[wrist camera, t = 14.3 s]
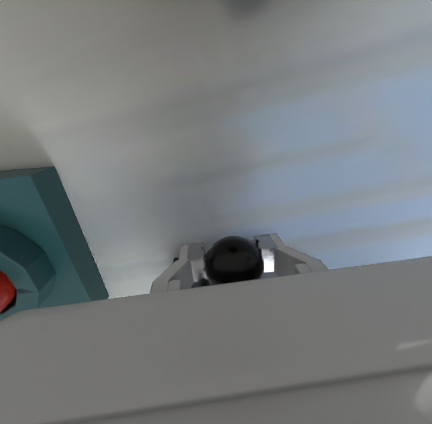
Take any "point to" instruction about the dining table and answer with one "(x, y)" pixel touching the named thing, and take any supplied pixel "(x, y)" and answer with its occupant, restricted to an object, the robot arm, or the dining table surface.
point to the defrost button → (6, 291)
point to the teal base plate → (43, 244)
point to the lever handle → (233, 261)
